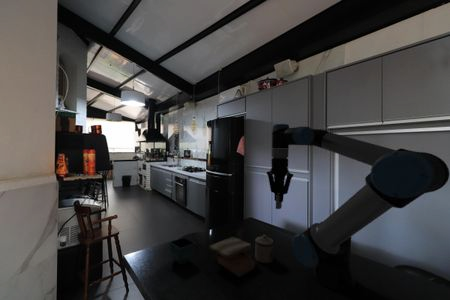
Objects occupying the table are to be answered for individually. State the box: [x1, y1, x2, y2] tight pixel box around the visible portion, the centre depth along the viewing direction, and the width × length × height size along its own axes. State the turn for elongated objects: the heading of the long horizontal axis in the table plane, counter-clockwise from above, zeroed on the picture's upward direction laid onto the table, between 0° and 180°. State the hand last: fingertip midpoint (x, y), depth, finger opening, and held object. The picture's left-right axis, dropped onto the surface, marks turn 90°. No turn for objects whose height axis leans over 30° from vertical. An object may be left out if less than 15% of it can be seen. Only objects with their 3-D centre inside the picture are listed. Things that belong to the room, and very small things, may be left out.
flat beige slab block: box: [208, 236, 252, 263], centre depth 99 cm, size 12×16×8 cm
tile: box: [217, 253, 256, 278], centre depth 96 cm, size 14×10×4 cm
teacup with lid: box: [254, 234, 275, 264], centre depth 104 cm, size 12×9×12 cm
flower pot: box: [169, 236, 196, 266], centre depth 99 cm, size 9×9×9 cm
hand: (278, 208), depth 98 cm, fingers closed
